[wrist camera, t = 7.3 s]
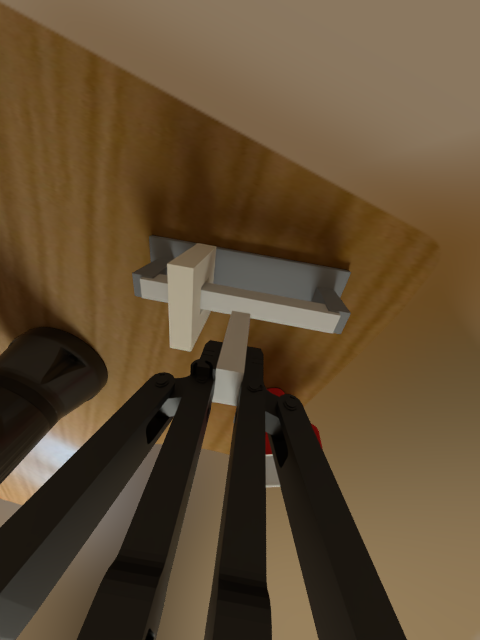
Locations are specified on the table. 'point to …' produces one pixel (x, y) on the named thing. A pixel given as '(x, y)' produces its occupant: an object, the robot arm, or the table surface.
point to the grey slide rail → (255, 286)
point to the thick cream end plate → (188, 294)
